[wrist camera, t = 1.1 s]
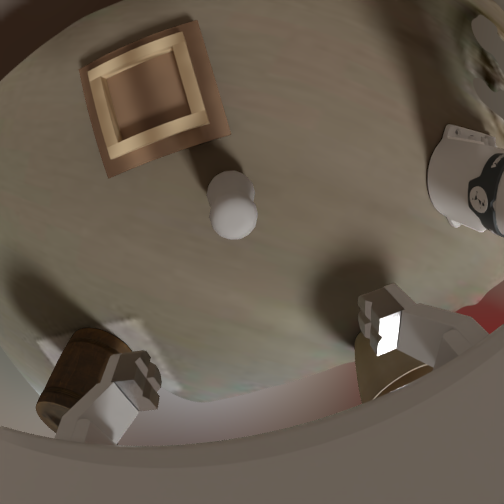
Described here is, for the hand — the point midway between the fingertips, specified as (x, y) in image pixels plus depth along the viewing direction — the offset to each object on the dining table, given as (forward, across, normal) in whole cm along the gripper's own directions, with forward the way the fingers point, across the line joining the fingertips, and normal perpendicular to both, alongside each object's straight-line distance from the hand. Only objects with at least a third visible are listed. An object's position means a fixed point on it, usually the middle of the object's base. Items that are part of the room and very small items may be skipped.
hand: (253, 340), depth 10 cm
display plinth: (+28, +6, -15) cm, 32 cm away
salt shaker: (+28, 0, 0) cm, 28 cm away
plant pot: (+28, -19, +34) cm, 48 cm away
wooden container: (+29, +32, +23) cm, 49 cm away
